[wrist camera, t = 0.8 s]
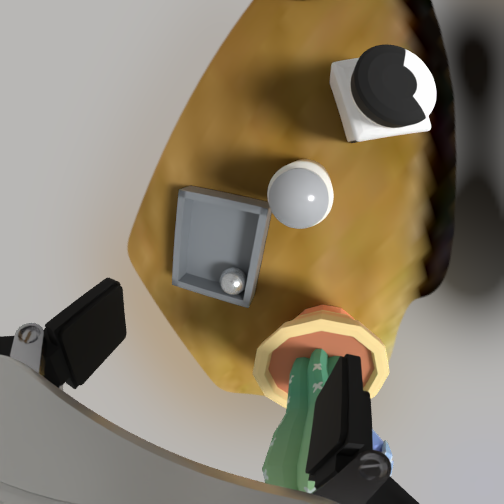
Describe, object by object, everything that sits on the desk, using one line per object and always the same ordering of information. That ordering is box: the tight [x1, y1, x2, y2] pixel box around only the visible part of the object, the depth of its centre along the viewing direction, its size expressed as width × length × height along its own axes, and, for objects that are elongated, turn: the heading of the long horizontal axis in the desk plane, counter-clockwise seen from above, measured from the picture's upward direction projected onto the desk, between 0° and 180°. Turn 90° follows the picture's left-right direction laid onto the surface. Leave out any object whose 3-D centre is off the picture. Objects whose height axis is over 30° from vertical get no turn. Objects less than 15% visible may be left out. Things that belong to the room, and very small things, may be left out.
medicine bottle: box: [330, 45, 436, 143], centre depth 19 cm, size 7×7×12 cm
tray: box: [172, 186, 272, 308], centre depth 32 cm, size 12×10×3 cm
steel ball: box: [219, 267, 247, 295], centre depth 33 cm, size 3×3×3 cm
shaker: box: [267, 159, 333, 229], centre depth 25 cm, size 5×5×10 cm
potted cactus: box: [253, 305, 394, 493], centre depth 24 cm, size 16×15×25 cm
